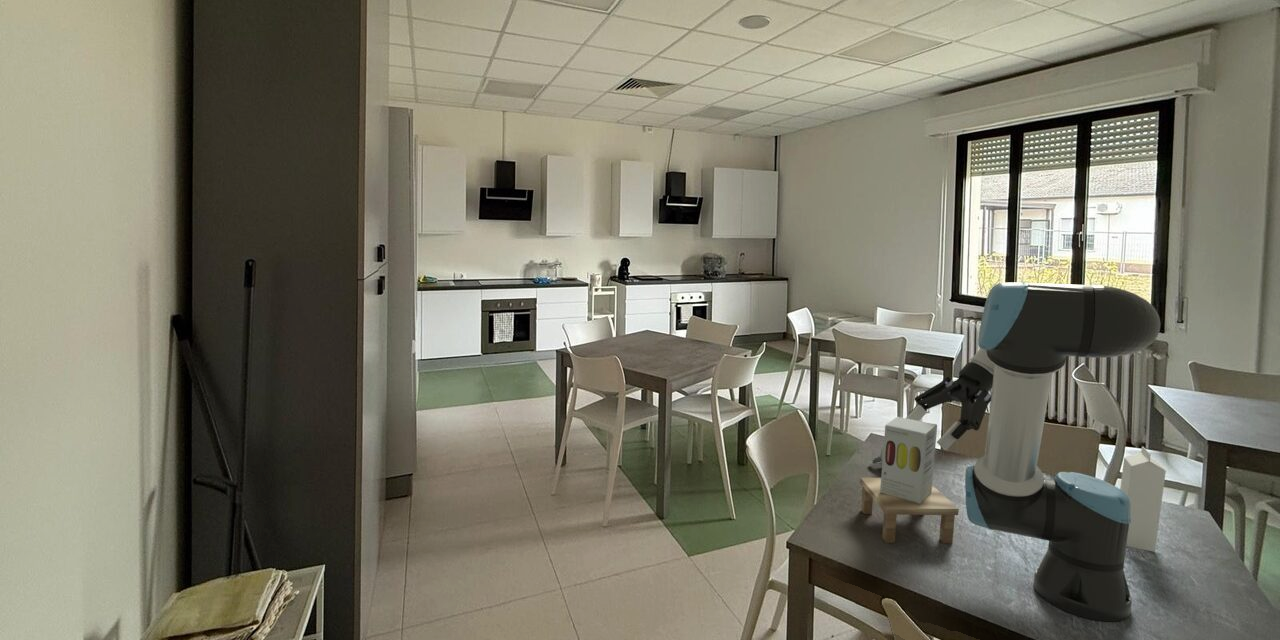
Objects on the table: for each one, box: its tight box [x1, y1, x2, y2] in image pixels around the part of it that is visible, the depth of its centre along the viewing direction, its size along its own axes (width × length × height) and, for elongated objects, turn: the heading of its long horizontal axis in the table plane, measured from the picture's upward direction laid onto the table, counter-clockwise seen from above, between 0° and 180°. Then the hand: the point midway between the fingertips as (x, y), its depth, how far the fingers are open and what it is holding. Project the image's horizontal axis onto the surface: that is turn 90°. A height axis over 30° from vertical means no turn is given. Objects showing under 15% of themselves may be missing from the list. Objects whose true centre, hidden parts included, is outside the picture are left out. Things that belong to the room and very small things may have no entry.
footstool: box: [859, 477, 960, 544], centre depth 143 cm, size 17×16×8 cm
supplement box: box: [880, 416, 938, 504], centre depth 141 cm, size 10×9×17 cm
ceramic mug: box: [868, 446, 884, 470], centre depth 178 cm, size 11×8×8 cm
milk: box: [1119, 446, 1167, 553], centre depth 135 cm, size 6×6×22 cm
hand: (922, 436), depth 142 cm, fingers open, 13 cm apart
